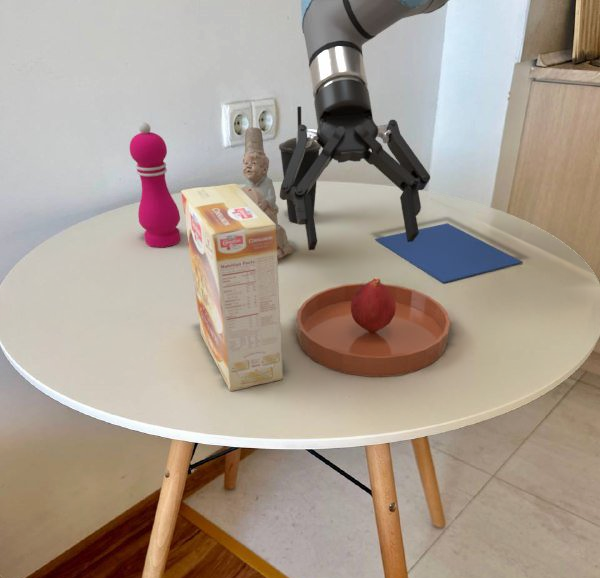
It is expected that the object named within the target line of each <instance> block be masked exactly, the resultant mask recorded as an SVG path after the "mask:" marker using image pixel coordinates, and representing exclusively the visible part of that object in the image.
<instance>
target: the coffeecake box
mask: <svg viewBox="0 0 600 578" xmlns="http://www.w3.org/2000/svg"><path fill="white" fill-rule="evenodd" d="M180 193H181V200H182V206H183V213H184V219H185V228H186V233H187V240H188V241H187V242H188V249H189V255H190V262H191V269H192V270H191V271H192V277H193V283H194V284H193V285H194V292H195V299H196V305H197V313H198V319H199V329H200V335H201V337H202V339H203V341H204V343H205V345H206V347H207V349H208V351H209V353H210V354H211V357H212V359H213V360H214V363H215V365H216V366H217V369H218V370H219V372H220V374H221V376H222V378H223V380H224V382H225V384H226V386H227V388H228V389H229V391H230V392H233V391H239V390H242V389H247V388H251V387H254V386H258V385H262V384H268V383H273V382H277V381H281V380H283V379H284V373H283V371H284V370H283V353H282V352H283V351H282V333H281V331H282V330H281V329H282V328H281V310H280V309H281V307H280V289H279V288H280V287H279V285H280V284H279V268H278V266H279V265H278V259H277V242H276V224H275V223H274V222H273V221H272V220H271V219H270V218H269V217H268V216H267V215H266V214H265V213H264V212H263V211H262V210H261V209H260V208H259V207H258V206H257V205H256V204H255V203H254V202H253V201H252V200H251V199H250V198H249V197H248V196H247V195H246V194H245V193H244V192H243V191H242V190H241V187H240V186H239V185H238V184H237V183H228V184H222V185H221V184H220V185H215V186H214V185H211V186H203V187H202V186H199V187H193V188H186V189H182V190H180Z"/></svg>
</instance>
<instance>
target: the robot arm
mask: <svg viewBox="0 0 600 578" xmlns="http://www.w3.org/2000/svg"><path fill="white" fill-rule="evenodd" d="M449 1H450V0H301V2H300V7H301V8H300V9H301V29H302V34H303V37H304V41H305V48H306V54H307V59H308V68H309V74H310V81H311V83H310V84H311V90H312V95H313V100H314V102H313V105H314V110H315V118H316V123H317V124H316V126H317V129H313V128H312V129H311V128H308V126H307V125H305V124H302V123H301V125H299V127H298V126H297V131H296V137H295V138H296V147H295V150H294V153H293V155H292V158H291V161H290V163H289V166H288V168H287V171H286V174H285V176H284V175H283V179H282V182H281V185H280V190H279V198H280V200H282V201H287V200H286V199H289V200H292V201H293V204H294V205H295V210H296V217H297V222H298V223H297V224H298V225H299V226H301V225H305V232H306V239H307V245H308V251H315V250H316V247H317V244H318V236H317V229H316V223H315V217H314V215H315V214H314V215H313V208H312V201H311V194H307V193H308V192H309V191H310V189H311V188H312V186H313V185H314V184H315V182H316V181H318V179H319V178H320V176H321V175H322V174H323V172H324V171H325V170H326V169H327V167H328V166H329V165H330V163H332V161H333V160H334V161H337V163H346V162H349V161H350V162H355V163H356V162H361V160H364V161H366V163H368V165H373V167H375V168H376V169H377V170H378V171H379V172H381V174H382V175H383V176H385V177H386V178H387V179H388V180H389V181H391V183H393V184H394V185H395V186H396V187H397V188H398V189H399V190H401V192H402V193H401V195H400V196H399V199H400V205H401V211H402V217H403V218H402V219H403V224H404V230H405V232H406V236H407V242H413V241H414V239H415V238H416V236H417V235H418V234H419V231H418V229H419V225H418V218H417V217H418V215H419V213H420V212H421V209H422V205H421V199H420V192H419V191H423V190H424V189H425V188H426V186H427V185H428V183H429V182H430V180H431V175H430V173H429V172H428V170H427V169H426V168H425V166H424V165H423V164H422V162H421V160H420V159H419V158H418V157H417V155H416V154H415V152H414V151H413V149H412V148H411V147H410V145H409V144H408V143H407V141H406V140H405V138H404V137H403V135H402V134H401V131H400V127H399V124H398V121H397V120H396V119H390V120H389V121H388V123H387V124H382V125H377V124H376V123H375V121H374V118H373V111H372V105H371V98H370V91H369V89H368V79H367V78H368V77H367V73H366V66H365V62H364V55H363V46H364V44H366V43H367V42H369V41H371V40H372V39H374V38H375V37H376V36H378V35H380V34H381V33H382V32H384V31H385V30H386V29H388V28H390V27H391V26H393V25H394V24H396V23H397V22H400V21H401V20H403V19H406V18H411V17H414V16H418V15H422V14H423V15H424V14H431V13H433V12H436V11H438V10H439V9H441V8H443V7H445V5H447V3H448V2H449ZM377 138H380V139H381V140H382V142H383V144H386V145H387V148H388V150H389V151H390V152H391V154H392V155H393V156H394V158H393V156H391V155H390V154H389V152H387V151H386V150H385V149H384V147H383V145H382V144H381V143H380V142H379V141H378V140H377ZM313 141H315V142H317V143H318V144H319V145H320V146H321V148H322V149H321V152H319V156H318V158H317V159H316V160H315V162H314V163H313V165H312V166H311V167H310V169H309V170H308V172H307V173H306V175H305V176H304V177H303V179H302V180H301V182H300V183H299V184H298V186H297V187H294V186H293V183H294V181H295V178H296V175H297V173H298V170H299V167H300V165H301V162H302V159H303V156H304V153H305V148H308V147H310V146H311V144H312V142H313ZM316 183H317V182H316Z"/></svg>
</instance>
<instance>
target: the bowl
mask: <svg viewBox="0 0 600 578" xmlns="http://www.w3.org/2000/svg"><path fill="white" fill-rule="evenodd" d="M367 283H368V282H359V283H348V284H347V283H346V284H341V285H337V286H334V287H329V288H326V289H324V290H321V291H318V292H317V293H315V294H313V295H311V296H310V297H309V298H308V299H306V300H305V301H303V302H302V304H301V306H300V307H299V308H298V310H297V315H296V336H297V340H298V344H299V346H300V348H301V349H302V351H303V352H304V353H305V355H307V356H308V357H309V358H310V359H312V360H313V361H315V362H317V363H318V364H320V365H322V366H324V367H326V368H328V369H331V370H334V371H337V372H341V373H345V374H349V375H354V376H362V377H393V376H400V375H405V374H410V373H413V372H417V371H419V370H422V369H424V368H426V367H428V366H430V365H432V364H433V363H435V362H436V361H437V360H438V359H439V358H441V356H442V355H443V353H444V352H445V350H446V348H447V345H448V340H449V335H450V328H451V320H450V317H449V313H448V311H447V310H446V309H445V308H444V307H443V306H442V304H441V303H440V302H438V301H437V300H435V299H433V298H432V297H431V296H429V295H427V294H425V293H423V292H421V291H418V290H416V289H412V288H408V287H405V286H402V285H401V286H400V285H396V284H389V283H383V282H382V283H381V282H380V283H381V284H382V285H384V286H385V287H386V288H387V289H388V290H389V291H390V292H391V293H392V295H393V297H394V300H395V305H396V311H395V315H394V317H393V319H392V320H391V322H390V323H389V324H388V325H387V326H385V327H384V328H382V329H380V330H378V331H377V332H375V333H370V332H368V331H367V330H365V329H364V328H362V327H361V326H359V325H358V324H357V323H356V322H355V321H354V319H353V317H352V313H351V301H352V299H353V297H354V295H355V294H356V293H357V291H358V290H359V289H360V288H361V287H362V286H363V285H365V284H367Z"/></svg>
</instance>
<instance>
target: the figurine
mask: <svg viewBox="0 0 600 578" xmlns="http://www.w3.org/2000/svg"><path fill="white" fill-rule="evenodd" d="M242 164H243V168H242V175H243V176H244V177H245V178H246V181H245V185H244V186H242V187H240V189H241V190H242V191H243V192H244V193H245V194H246V195H247V196H248V197H249V198H250V199H251V200H252V201H253V202H254V203H255V204H256V205H257V206H258V207H259V208H260V209H261V210H262V211H263V212H264V213H265V214H266V215H267V216H268V217H269V218H270V219H271V220H272V221H273V222H274V223H275V224H276V242H277V260H279V259H282V258H283V257H285V256H286V255H290V254H292V253H293V246H292V244H291V243H289V242H290V241H289V239H288V236H287V231H286V229H285V228H284V227H283V226H282V225H280V224H279V222H278V214H279V213H280V210H279V209H280V208H279V206H278V205H277V195H276V190H275V186H274V183H273V180H272V179H271V178H270V177H268V172H269V167H270V166H269V165H270V159H269V157H268V156H267V154H266V153H265V149H264V139H263V133H262V129H261V128H259V127H248V128H246V129H245V131H244V154H243V158H242Z"/></svg>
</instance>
